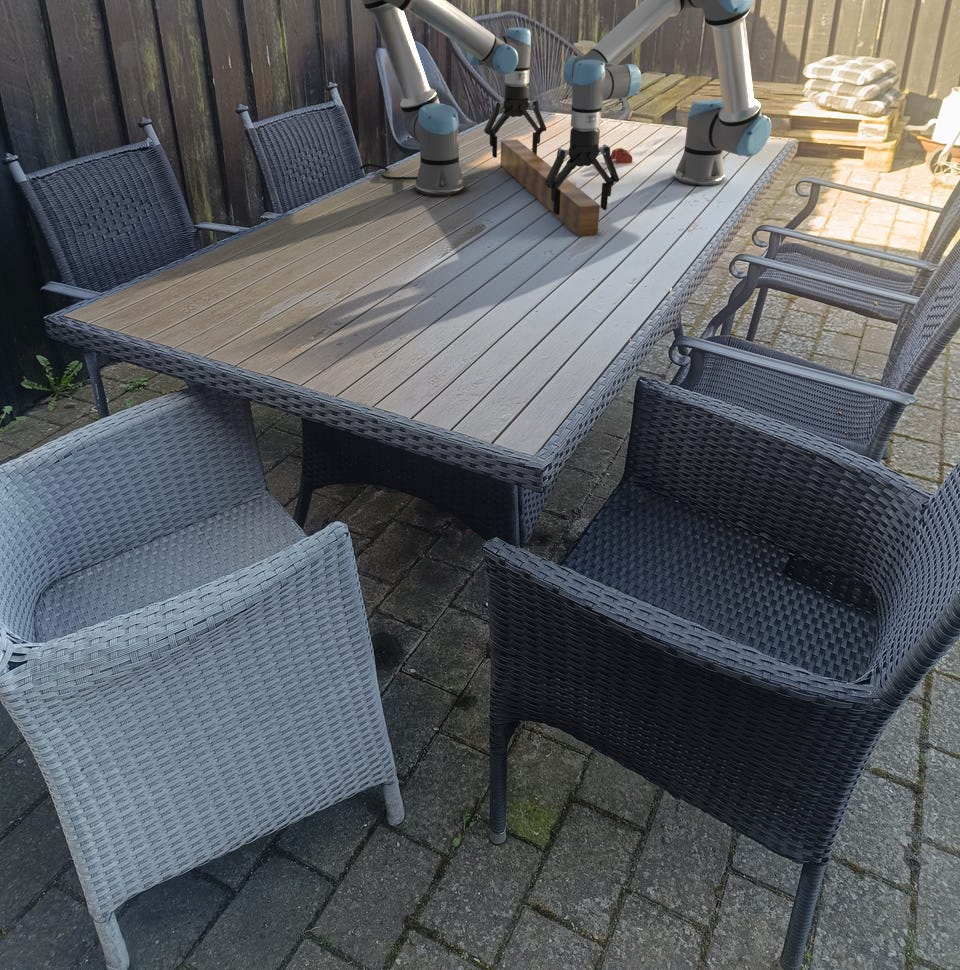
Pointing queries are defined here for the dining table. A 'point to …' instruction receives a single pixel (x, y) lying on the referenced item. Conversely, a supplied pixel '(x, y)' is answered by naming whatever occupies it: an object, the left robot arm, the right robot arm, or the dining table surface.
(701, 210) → the dining table surface
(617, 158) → the red rounded lump
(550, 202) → the beam
